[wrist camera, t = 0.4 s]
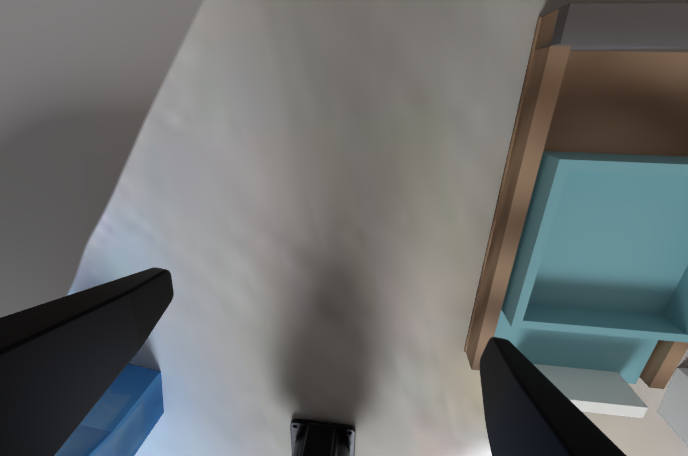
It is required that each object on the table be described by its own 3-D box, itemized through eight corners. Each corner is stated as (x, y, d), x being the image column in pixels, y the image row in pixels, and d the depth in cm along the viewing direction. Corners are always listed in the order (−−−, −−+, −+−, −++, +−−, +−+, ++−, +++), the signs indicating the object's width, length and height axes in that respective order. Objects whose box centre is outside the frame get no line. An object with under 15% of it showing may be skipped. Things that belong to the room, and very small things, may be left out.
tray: (627, 375, 25) (667, 420, 22) (481, 361, 26) (497, 402, 23) (738, 158, 18) (822, 173, 15) (535, 150, 19) (569, 162, 16)
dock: (644, 367, 25) (677, 400, 22) (464, 350, 26) (473, 379, 24) (829, 18, 16) (923, 2, 13) (538, 17, 17) (568, 3, 14)
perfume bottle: (160, 371, 32) (43, 518, 21) (163, 412, 34) (60, 563, 23) (101, 357, 32) (-46, 496, 21) (109, 399, 34) (-20, 543, 23)
